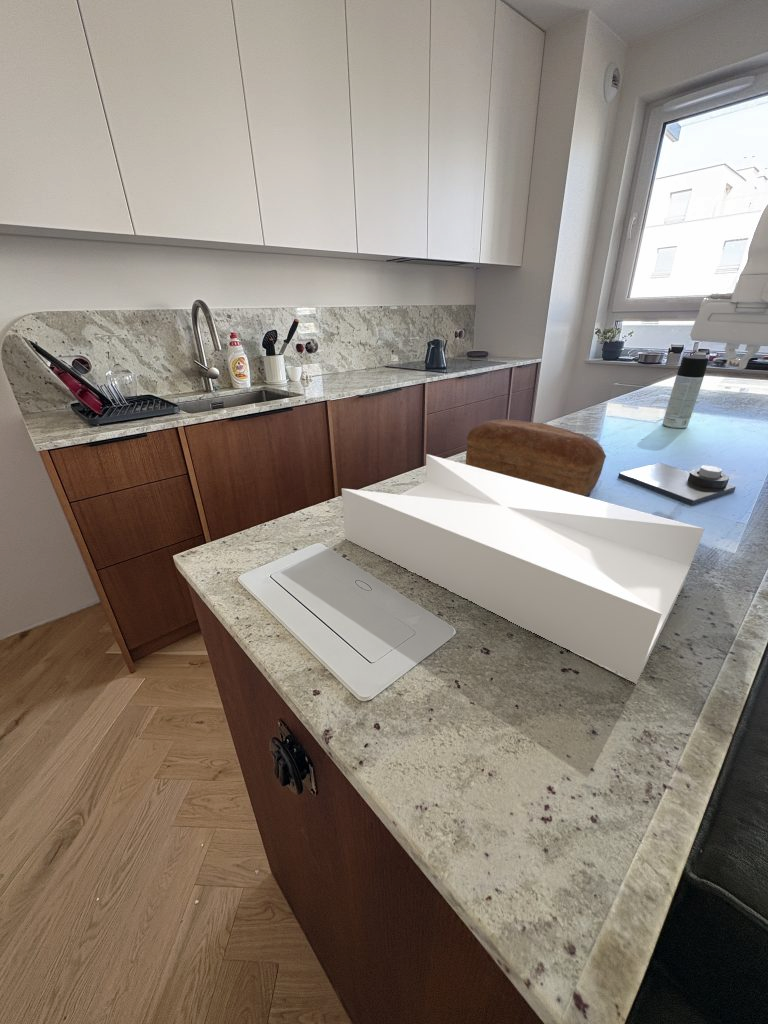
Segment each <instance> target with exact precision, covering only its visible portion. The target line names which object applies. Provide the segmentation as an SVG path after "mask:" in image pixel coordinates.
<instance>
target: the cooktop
mask: <svg viewBox="0 0 768 1024" xmlns="http://www.w3.org/2000/svg"><path fill="white" fill-rule="evenodd" d="M699 471H700V468H694V469H691V470H690V471H687V470H685V469H682V468H678V467H676V466H672V465H668V464H667V463H664V462H658V463H653V464H649V465H645V466H642V467H637V468H633V469H630V470H625V471H621V472H619V473H618V476H617V478H618V479H620V480H622V481H625V482H628V483H631V484H634V485H636V486H638V487H641V488H643V489H646V490H648V491H652V492H654V493H656V494H659V495H662V496H664V497H667V498H669V499H672V500H675V501H677V502H680V503H683V504H685V505H688V506H691V507H692V506H696V505H699V504H702V503H705V502H707V501H711V500H715V499H717V498H721V497H723V496H726V495H729V494H732V493H734V492H735V490H736V489H737V487H736V486H735V485H730V484H728V483H729V481H730V476H729V475H727V474H725V473H723V472H722V473H721V476H720V478H719V479H712V478H706V477H703V476H700V475H699Z"/></svg>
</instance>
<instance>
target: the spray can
mask: <svg viewBox="0 0 768 1024" xmlns="http://www.w3.org/2000/svg"><path fill="white" fill-rule="evenodd" d="M708 364H709V358H708V357H706V356H700V355H684V356H682V359H681V362H680V365H679V367H678V369H677V373H676V376H675V379H674V383H673V386H672V389H671V393H670V396H669V400H668V403H667V406H666V410H665V413H664V417H663V419H662V427H666V428H671V429H686V428H687V427H688V426H689V424H690V420H691V418H692V415H693V412H694V408H695V405H696V402H697V400H698V396H699V393H700V390H701V387H702V384H703V381H704V378H705V375H706V372H707V367H708Z"/></svg>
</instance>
